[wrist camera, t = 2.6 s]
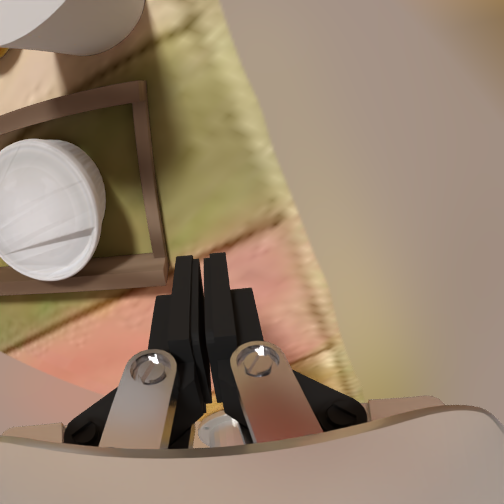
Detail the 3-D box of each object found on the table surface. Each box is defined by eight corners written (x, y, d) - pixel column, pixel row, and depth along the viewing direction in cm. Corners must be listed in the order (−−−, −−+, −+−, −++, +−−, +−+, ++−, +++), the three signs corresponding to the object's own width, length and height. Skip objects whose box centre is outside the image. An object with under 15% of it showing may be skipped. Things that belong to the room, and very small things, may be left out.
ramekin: (72, 272, 28) (54, 306, 23) (-8, 199, 23) (-38, 222, 18) (143, 189, 25) (130, 214, 20) (50, 102, 20) (18, 109, 16)
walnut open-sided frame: (169, 266, 29) (166, 285, 26) (-15, 280, 26) (-27, 296, 24) (146, 80, 21) (138, 80, 18) (-55, 140, 18) (-74, 148, 16)
